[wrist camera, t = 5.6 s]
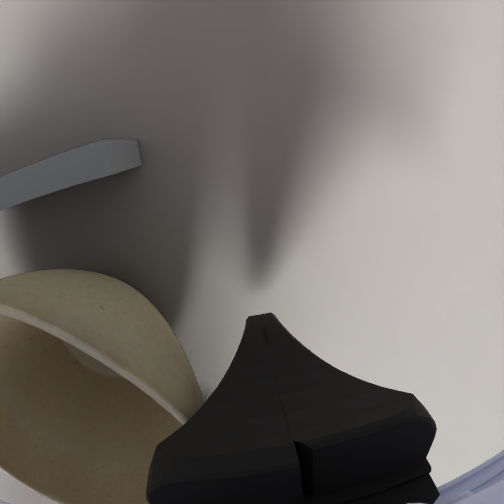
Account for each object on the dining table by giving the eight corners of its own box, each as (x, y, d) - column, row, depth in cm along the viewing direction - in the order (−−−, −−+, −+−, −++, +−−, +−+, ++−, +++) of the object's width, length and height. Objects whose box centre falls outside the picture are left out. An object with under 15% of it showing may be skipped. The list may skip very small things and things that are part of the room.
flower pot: (-9, 249, 12) (-110, 320, 5) (182, 190, 12) (126, 257, 5) (72, 409, 15) (34, 507, 8) (240, 393, 15) (252, 521, 8)
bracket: (218, 430, 16) (220, 480, 13) (56, 433, 16) (40, 472, 12) (137, 139, 11) (104, 139, 8) (-50, 208, 11) (-95, 228, 7)
